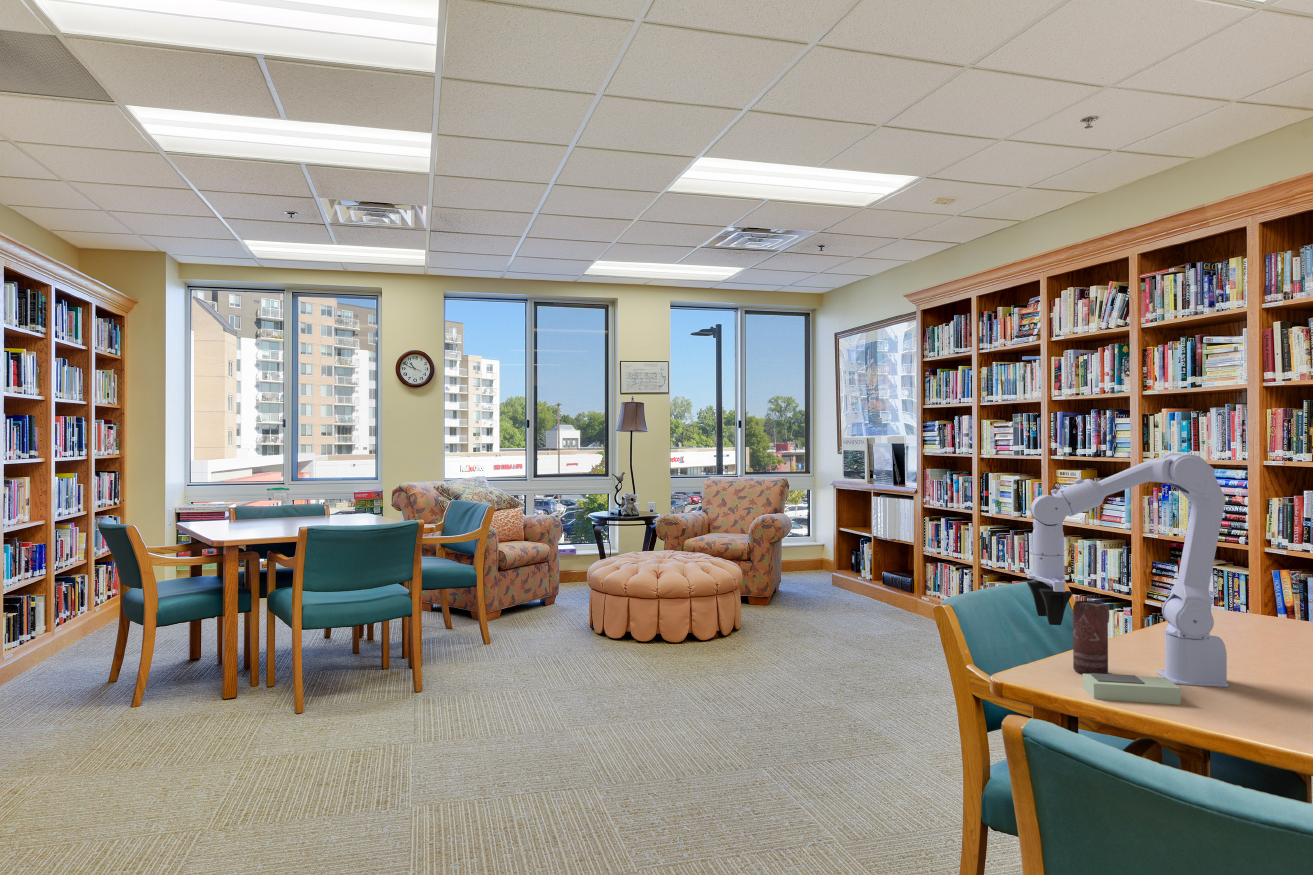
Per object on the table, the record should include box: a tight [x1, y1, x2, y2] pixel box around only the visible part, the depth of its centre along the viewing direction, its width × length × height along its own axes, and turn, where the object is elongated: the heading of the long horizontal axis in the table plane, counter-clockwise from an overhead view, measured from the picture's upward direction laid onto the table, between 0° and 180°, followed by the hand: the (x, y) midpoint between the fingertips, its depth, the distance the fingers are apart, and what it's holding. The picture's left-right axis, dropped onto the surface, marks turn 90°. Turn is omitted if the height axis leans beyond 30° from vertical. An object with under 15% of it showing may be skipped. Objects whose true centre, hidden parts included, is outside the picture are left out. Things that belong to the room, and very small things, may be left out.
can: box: [1072, 600, 1110, 676], centre depth 156 cm, size 6×6×14 cm
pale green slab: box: [1082, 673, 1182, 705], centre depth 142 cm, size 14×6×3 cm, turn 78°
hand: (1049, 620), depth 160 cm, fingers open, 7 cm apart
